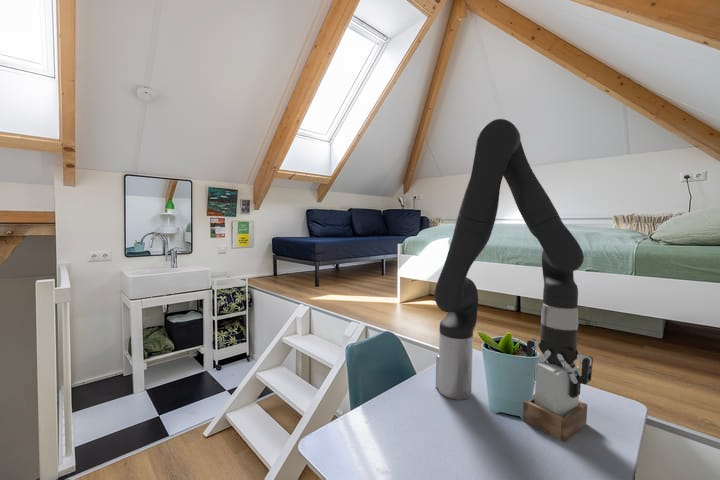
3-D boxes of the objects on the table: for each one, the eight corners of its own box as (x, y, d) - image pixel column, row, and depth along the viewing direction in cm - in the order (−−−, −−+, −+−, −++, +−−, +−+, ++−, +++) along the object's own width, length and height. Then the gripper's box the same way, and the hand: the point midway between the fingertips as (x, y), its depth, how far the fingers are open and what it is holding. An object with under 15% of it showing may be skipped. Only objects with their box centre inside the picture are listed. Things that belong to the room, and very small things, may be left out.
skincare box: (555, 411, 81) (557, 356, 80) (579, 426, 76) (582, 366, 75) (532, 419, 78) (534, 361, 77) (555, 435, 72) (558, 372, 71)
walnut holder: (522, 420, 78) (523, 401, 77) (545, 405, 84) (546, 387, 84) (565, 442, 70) (566, 421, 69) (586, 424, 76) (587, 404, 76)
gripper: (521, 318, 79) (519, 381, 80) (587, 335, 67) (583, 409, 68) (536, 313, 83) (533, 373, 84) (600, 328, 71) (597, 398, 72)
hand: (556, 389), depth 76 cm, fingers open, 7 cm apart
